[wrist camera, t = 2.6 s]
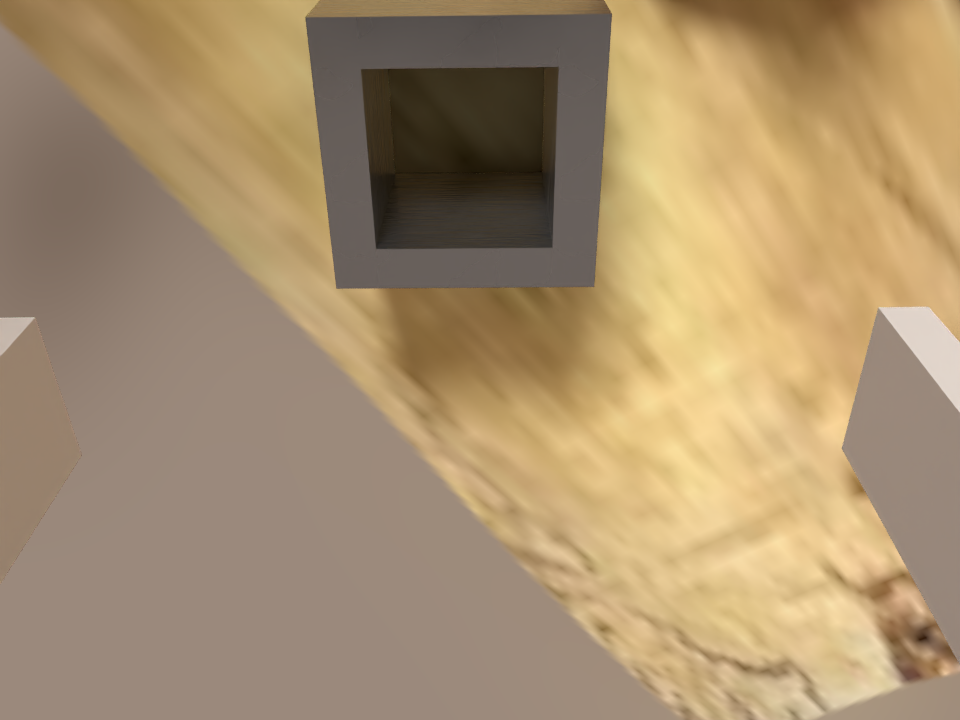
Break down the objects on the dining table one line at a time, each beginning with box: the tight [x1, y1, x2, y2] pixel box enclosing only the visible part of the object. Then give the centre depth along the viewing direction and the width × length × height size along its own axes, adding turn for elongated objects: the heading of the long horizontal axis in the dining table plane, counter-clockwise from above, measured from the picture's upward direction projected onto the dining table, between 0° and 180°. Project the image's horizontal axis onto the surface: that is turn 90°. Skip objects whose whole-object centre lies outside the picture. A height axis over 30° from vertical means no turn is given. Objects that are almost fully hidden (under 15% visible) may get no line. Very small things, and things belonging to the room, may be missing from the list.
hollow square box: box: [305, 0, 612, 289], centre depth 26 cm, size 8×8×6 cm
